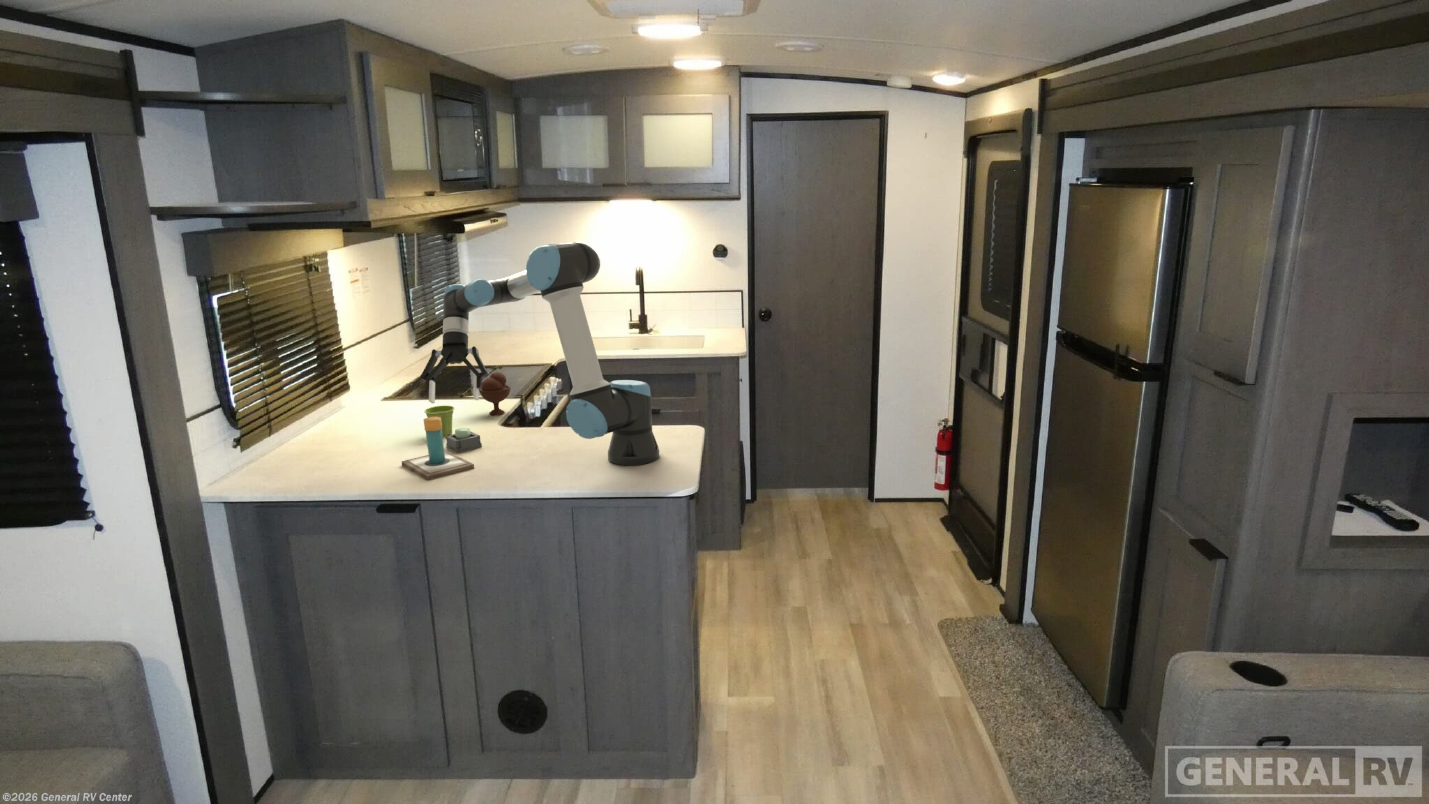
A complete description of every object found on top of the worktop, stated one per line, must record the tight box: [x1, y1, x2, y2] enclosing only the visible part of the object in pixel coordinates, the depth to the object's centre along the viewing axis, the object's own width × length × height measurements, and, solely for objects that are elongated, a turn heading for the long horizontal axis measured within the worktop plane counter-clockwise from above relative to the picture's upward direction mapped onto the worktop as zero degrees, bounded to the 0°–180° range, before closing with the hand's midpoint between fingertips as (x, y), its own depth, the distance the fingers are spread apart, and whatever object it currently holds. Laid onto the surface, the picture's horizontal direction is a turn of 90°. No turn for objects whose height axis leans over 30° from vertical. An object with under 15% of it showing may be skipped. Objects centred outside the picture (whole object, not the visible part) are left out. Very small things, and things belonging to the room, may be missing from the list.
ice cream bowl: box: [479, 371, 511, 417], centre depth 301 cm, size 11×11×15 cm
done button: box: [454, 427, 471, 440], centre depth 265 cm, size 4×4×3 cm
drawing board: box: [400, 450, 475, 481], centre depth 248 cm, size 18×14×2 cm
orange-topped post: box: [423, 417, 445, 464], centre depth 246 cm, size 5×5×13 cm
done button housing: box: [445, 431, 483, 453], centre depth 265 cm, size 8×8×4 cm
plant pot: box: [424, 405, 455, 437], centre depth 278 cm, size 9×9×9 cm
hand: (453, 400), depth 257 cm, fingers open, 13 cm apart
